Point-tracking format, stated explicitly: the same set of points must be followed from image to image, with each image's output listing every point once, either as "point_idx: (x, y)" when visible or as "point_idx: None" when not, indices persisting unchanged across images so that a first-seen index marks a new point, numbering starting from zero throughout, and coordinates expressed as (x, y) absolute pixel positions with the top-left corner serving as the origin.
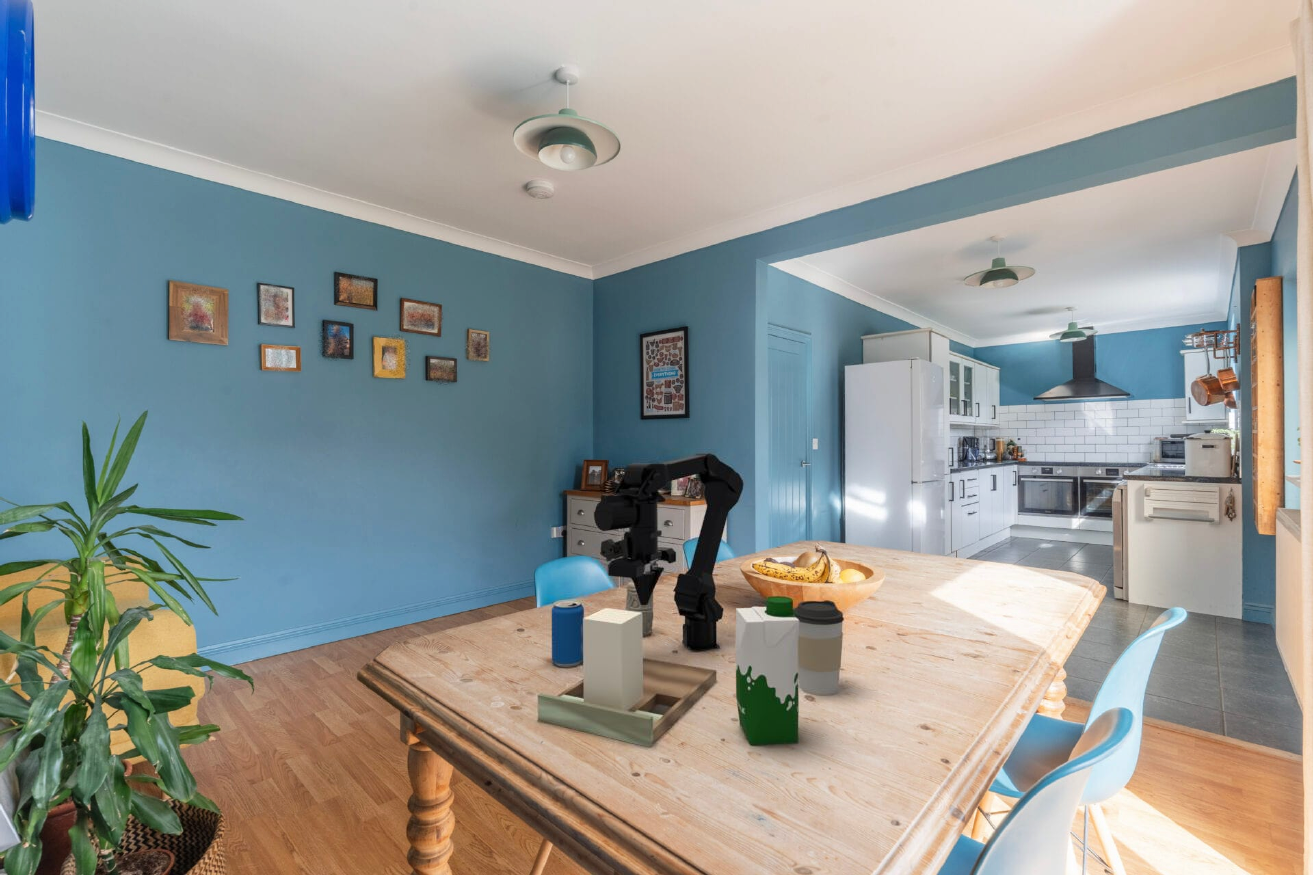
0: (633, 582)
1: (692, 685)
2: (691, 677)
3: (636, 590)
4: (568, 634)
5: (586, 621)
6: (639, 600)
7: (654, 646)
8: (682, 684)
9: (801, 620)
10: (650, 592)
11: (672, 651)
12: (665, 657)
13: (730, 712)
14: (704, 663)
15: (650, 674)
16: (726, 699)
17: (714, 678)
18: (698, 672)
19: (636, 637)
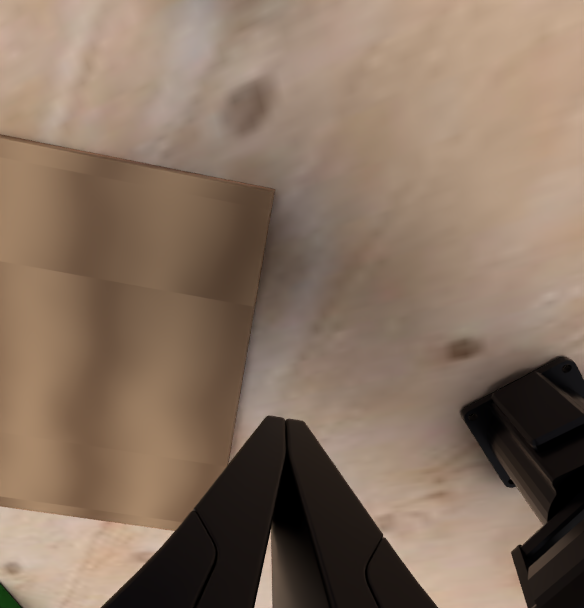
0: (104, 604)
1: (69, 500)
2: (128, 487)
3: (202, 500)
4: None
5: None
6: (256, 430)
7: (518, 257)
8: (64, 475)
9: None
10: (273, 593)
11: (461, 340)
12: (390, 332)
13: (43, 558)
14: (355, 459)
15: (99, 368)
16: (111, 542)
17: None
18: (178, 497)
19: None
